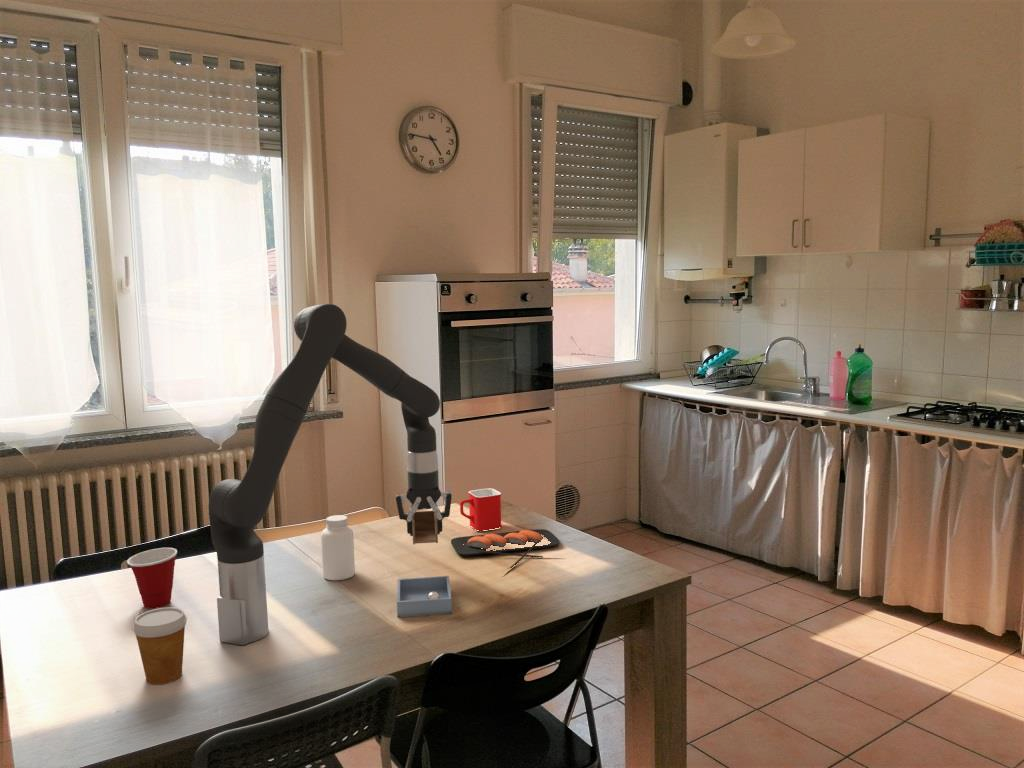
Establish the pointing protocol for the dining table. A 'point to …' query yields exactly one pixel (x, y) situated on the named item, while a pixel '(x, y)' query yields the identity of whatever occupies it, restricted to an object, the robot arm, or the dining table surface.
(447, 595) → the dish
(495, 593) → the dining table surface
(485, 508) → the mug
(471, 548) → the sushi plate
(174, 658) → the disposable coffee cup
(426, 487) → the robot arm
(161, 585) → the plastic cup
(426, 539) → the channel
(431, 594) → the ball
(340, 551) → the pill bottle
